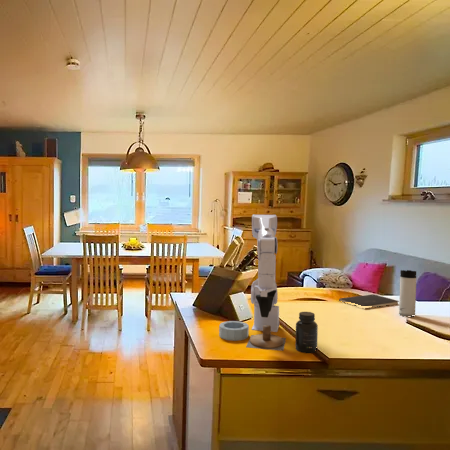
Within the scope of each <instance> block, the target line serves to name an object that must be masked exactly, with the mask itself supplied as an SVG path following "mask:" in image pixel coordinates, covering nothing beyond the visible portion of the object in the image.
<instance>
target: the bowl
mask: <svg viewBox="0 0 450 450" xmlns="http://www.w3.org/2000/svg"><path fill="white" fill-rule="evenodd" d="M249 329H250V328H249V324H248V323H247V322H244V321H238V320H229V321H228V320H227V321H223V322H220V324H219V327H218V332H219V333H218V337H220V338H221V339H223V340H226V341H233V342H236V341H243V340H244V341H245V340H246V339H248V337H249Z"/></svg>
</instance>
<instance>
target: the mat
mask: <svg viewBox="0 0 450 450" xmlns="http://www.w3.org/2000/svg"><path fill="white" fill-rule="evenodd" d="M252 336H254V334H252V335H251V334H250V338H251V337H252ZM250 338H249V340H248V341H247V344H246V346H245V348H251V349H258V350H259V349H260V350H261V349H262V350H271V351H280V352H282V351H284V350H285V345H286V340H287V339H286V338H287V337H281V338H282V339H283V345H282V346H280V347H278V348H260V347H256V346H254V345H252V344H251V343H250Z"/></svg>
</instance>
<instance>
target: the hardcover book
mask: <svg viewBox="0 0 450 450" xmlns="http://www.w3.org/2000/svg"><path fill="white" fill-rule="evenodd" d="M339 301H342V302H351V303H355V304H358V305H361V306H372V307H376V308H378V307H377V306H383V307H387V306H386V305H390V306H396V304H397V305H399V300H396V299H393V298H389V297H385V296H382V295H377V294H366V295H356V296H348V297H340V298H339V299H338V302H339ZM342 302H341V303H342Z"/></svg>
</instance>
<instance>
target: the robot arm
mask: <svg viewBox="0 0 450 450" xmlns="http://www.w3.org/2000/svg"><path fill="white" fill-rule="evenodd" d="M277 229H278V216H277V215H276V214H252V215H251V234H252V237H253V238H254V239H256V241H257V242H256V243H257V244H256V245H257V247H256V249H257V250H256V251H257V260H258V261H257V263H258V265H257V266H258V267H257V270H258V271H257V278H256V280H254V281H253V282H251V283H252V284H251V287H250V303H251V304H253V325H252V327H251V330H252V331H262V332H263V325H270V326H271V333H272V332H273V333H277V332H278V331H279V327H280V306H279V305H276V304H277V303H278V296H279V295H278V286H277V282H276V264H277V263H276V261H277V260H276V258H277V257H276V256H277V253H278V247H279V246H278V238H277V236H276V235H277Z"/></svg>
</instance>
